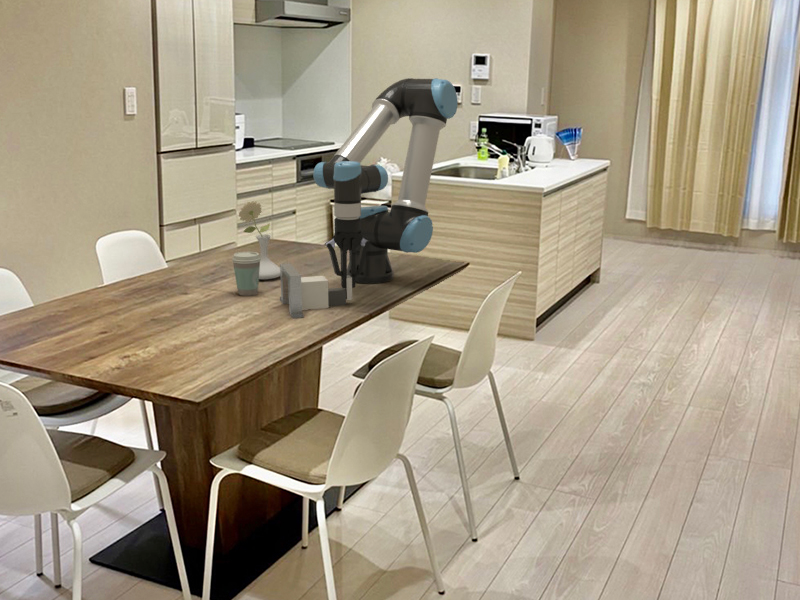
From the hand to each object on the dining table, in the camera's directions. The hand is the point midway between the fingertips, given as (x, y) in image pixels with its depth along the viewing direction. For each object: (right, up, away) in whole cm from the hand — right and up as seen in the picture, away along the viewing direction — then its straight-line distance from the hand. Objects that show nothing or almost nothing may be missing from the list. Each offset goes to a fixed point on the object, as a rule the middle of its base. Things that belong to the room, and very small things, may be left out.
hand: (348, 298), depth 254 cm
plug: (-8, -2, -2) cm, 9 cm away
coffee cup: (-31, +1, +12) cm, 33 cm away
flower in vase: (-29, +6, +30) cm, 43 cm away
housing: (-16, -3, -4) cm, 17 cm away
